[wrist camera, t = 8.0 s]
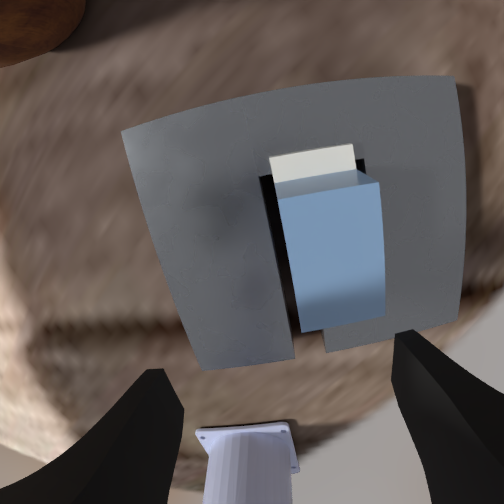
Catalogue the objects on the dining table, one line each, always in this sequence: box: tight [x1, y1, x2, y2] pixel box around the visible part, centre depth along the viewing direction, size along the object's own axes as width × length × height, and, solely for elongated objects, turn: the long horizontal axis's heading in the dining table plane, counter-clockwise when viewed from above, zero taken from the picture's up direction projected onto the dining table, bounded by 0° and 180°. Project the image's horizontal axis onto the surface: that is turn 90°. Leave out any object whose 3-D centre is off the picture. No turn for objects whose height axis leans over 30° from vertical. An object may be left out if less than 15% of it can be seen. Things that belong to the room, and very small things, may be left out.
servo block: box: [269, 143, 385, 333], centre depth 14 cm, size 8×4×6 cm, turn 12°
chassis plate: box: [121, 76, 466, 371], centre depth 16 cm, size 14×16×2 cm
